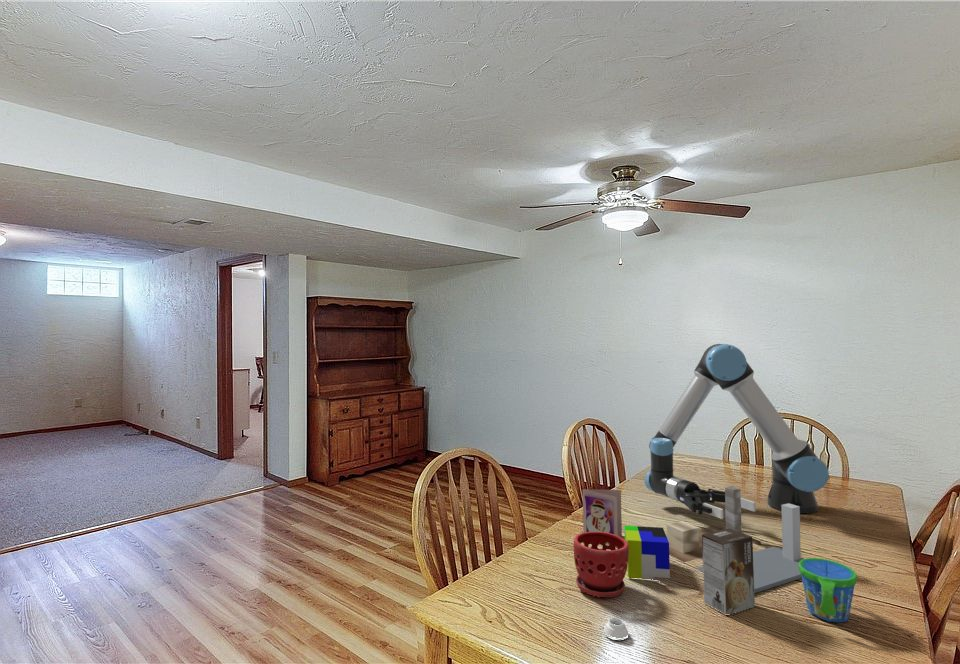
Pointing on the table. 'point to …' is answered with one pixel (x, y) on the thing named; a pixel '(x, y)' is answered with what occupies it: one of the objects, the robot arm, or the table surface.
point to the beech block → (683, 536)
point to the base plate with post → (779, 554)
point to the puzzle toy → (647, 552)
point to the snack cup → (828, 588)
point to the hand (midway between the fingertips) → (738, 510)
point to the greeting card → (602, 511)
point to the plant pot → (601, 563)
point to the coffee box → (728, 570)
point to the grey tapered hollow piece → (616, 628)
